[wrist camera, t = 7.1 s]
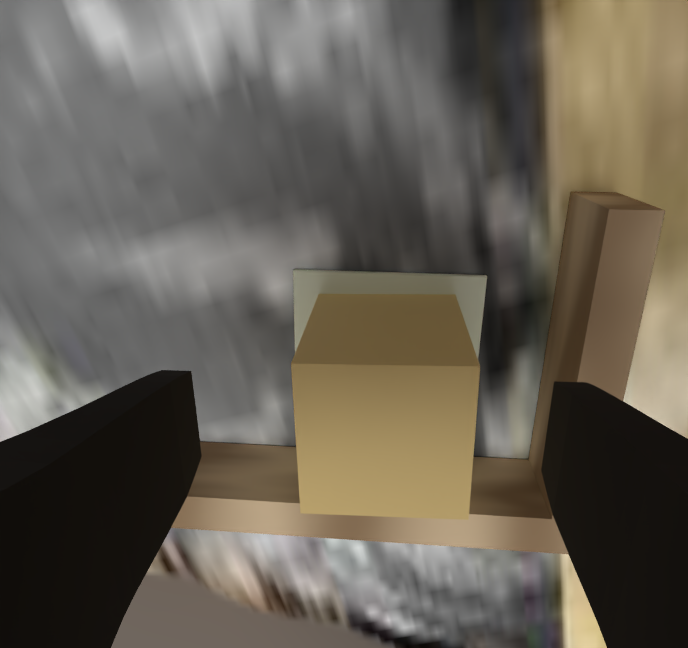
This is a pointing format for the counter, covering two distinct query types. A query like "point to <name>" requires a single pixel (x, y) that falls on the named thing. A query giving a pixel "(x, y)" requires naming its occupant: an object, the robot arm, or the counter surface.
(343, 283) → the pad
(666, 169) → the counter surface
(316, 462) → the block
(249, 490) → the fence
